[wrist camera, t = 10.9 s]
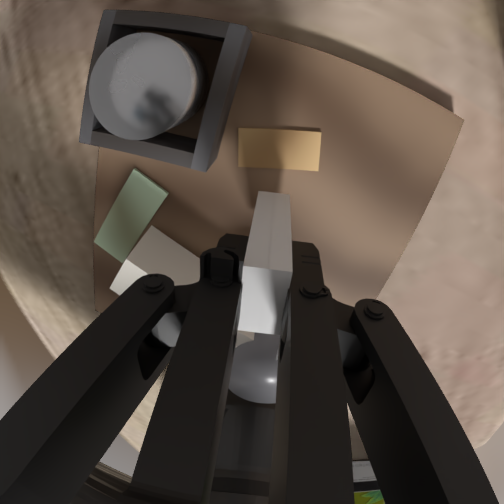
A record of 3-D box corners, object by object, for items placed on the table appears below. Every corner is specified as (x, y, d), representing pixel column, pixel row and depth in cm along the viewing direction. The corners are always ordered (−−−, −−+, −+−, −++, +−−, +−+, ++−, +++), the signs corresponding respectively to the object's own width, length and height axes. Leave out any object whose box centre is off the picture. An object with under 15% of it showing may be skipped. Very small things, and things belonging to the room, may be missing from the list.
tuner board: (323, 363, 25) (326, 401, 21) (101, 301, 23) (80, 333, 20) (454, 116, 14) (489, 129, 11) (135, 16, 13) (101, 5, 10)
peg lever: (317, 320, 20) (322, 379, 16) (273, 354, 22) (270, 411, 18) (159, 212, 17) (123, 258, 13) (128, 263, 19) (94, 313, 15)
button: (195, 136, 14) (176, 150, 12) (114, 118, 14) (82, 130, 11) (219, 47, 12) (204, 40, 9) (132, 35, 12) (100, 29, 9)
